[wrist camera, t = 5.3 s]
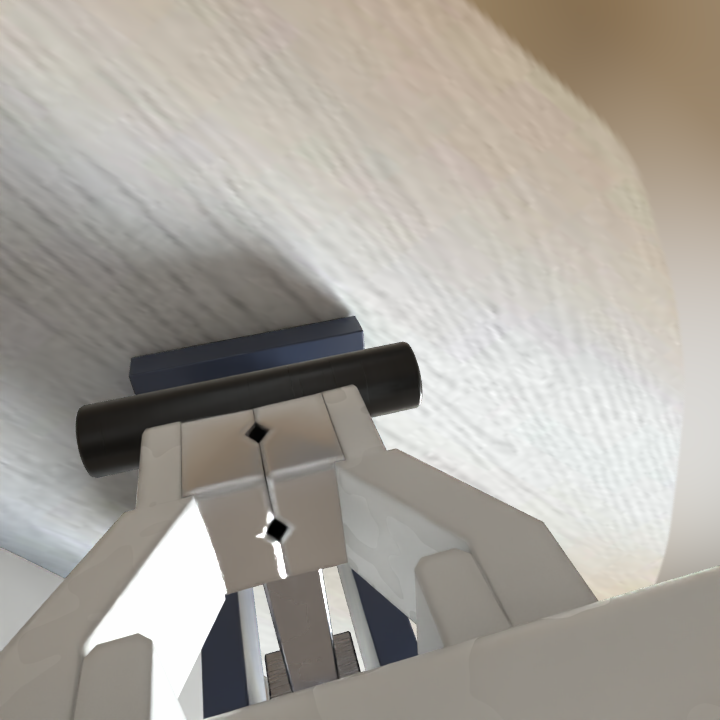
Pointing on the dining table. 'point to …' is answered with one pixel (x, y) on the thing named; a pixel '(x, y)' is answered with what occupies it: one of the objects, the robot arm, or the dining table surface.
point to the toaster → (33, 587)
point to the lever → (254, 389)
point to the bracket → (238, 615)
